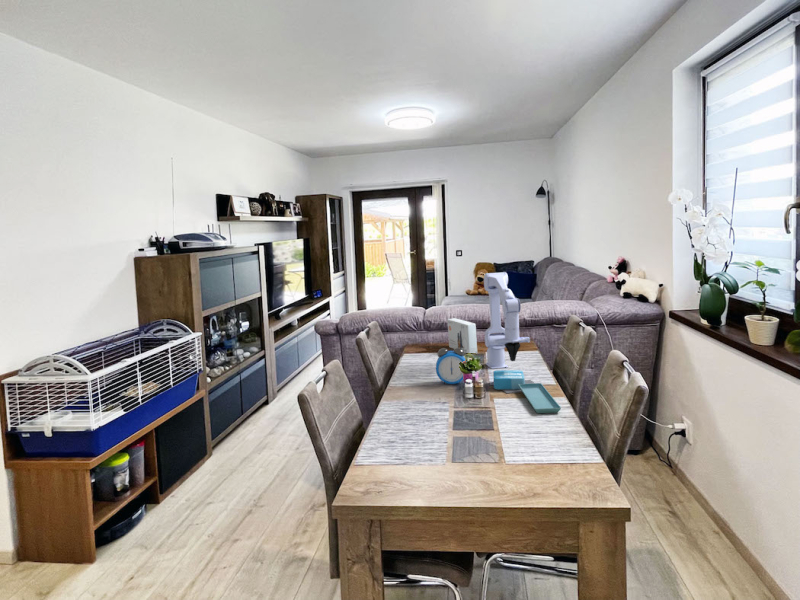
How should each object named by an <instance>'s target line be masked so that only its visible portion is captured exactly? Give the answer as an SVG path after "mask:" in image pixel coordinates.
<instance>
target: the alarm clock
mask: <svg viewBox="0 0 800 600" xmlns="http://www.w3.org/2000/svg"><path fill="white" fill-rule="evenodd" d="M465 354H466V353H464V351H463V349H461V348H455V349H453V348H451V349H449V350H448V348H445V347H442V348H439V350H438V351H437V357H438V358H437V359H436V363H435V372H436V376H437V377H438V378H439V379H440V381H442V382H443V385H445V384H449V385H457V384H460V383H461V382H462V381H463V380H464V379H463V374H462V372H461V371H460V368H459V363H460V362H463V361H465V360H466V358H465Z"/></svg>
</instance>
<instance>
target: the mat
mask: <svg viewBox="0 0 800 600" xmlns="http://www.w3.org/2000/svg"><path fill="white" fill-rule="evenodd" d="M532 383H535V382H534V381H533V380H531V379H525V384H532ZM501 391H503V392H504V393H505V394H507V395H509V394H518V393H519V394H520V393H523V392H522V391H521V389H501Z"/></svg>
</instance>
